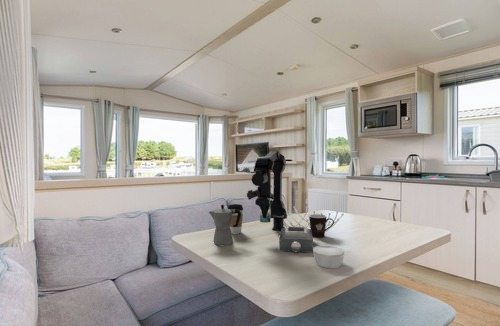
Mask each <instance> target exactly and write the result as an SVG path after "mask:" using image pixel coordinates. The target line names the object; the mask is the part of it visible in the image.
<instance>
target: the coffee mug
mask: <svg viewBox="0 0 500 326" xmlns="http://www.w3.org/2000/svg"><path fill="white" fill-rule="evenodd" d="M308 220H309V227H310V229H311V231H312V237H313V238H319V239H321V238H325V233H326V231H327V230H329V229H330V228H331V227H333V225H334V224H335V221H334V219H332V218H330V217H329V218H327V215H326V214H325V215H324V214H321V213H320V214H319V213H318V214H317V213H316V214H309V215H308ZM329 220H331V221H332V223H331V225H329V226H328V227H326V225H327V223H328V221H329Z"/></svg>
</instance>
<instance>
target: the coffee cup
mask: <svg viewBox="0 0 500 326" xmlns="http://www.w3.org/2000/svg"><path fill="white" fill-rule="evenodd" d="M227 209H230V210H235V209H238V210H239V211H240V212H241V217H240V220H239V223H238V226H237V227H233V225H235V224H236V220H237V215H238V214H237V213H235V214H232V219H231V225H230V229H231V233H232V235H239V233H240V234H242V229H243V227H242V226H243V211H244V207H243V204H240V203H239V204H238V203H236V204H235V203H233V204H228V207H227Z"/></svg>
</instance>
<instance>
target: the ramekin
mask: <svg viewBox="0 0 500 326" xmlns="http://www.w3.org/2000/svg"><path fill="white" fill-rule="evenodd" d="M312 253H313V256H314V262H315V264H316V265H317V266H318V267H321V268H325V269H336V268H337V269H339V268H340V267H341V266H342V265H343V260H344V255H345V251H344V250H343V249H342V248H340V247H338V246H334V245H328V244H326V245H322V244H321V245H317V246H313V252H312Z"/></svg>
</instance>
